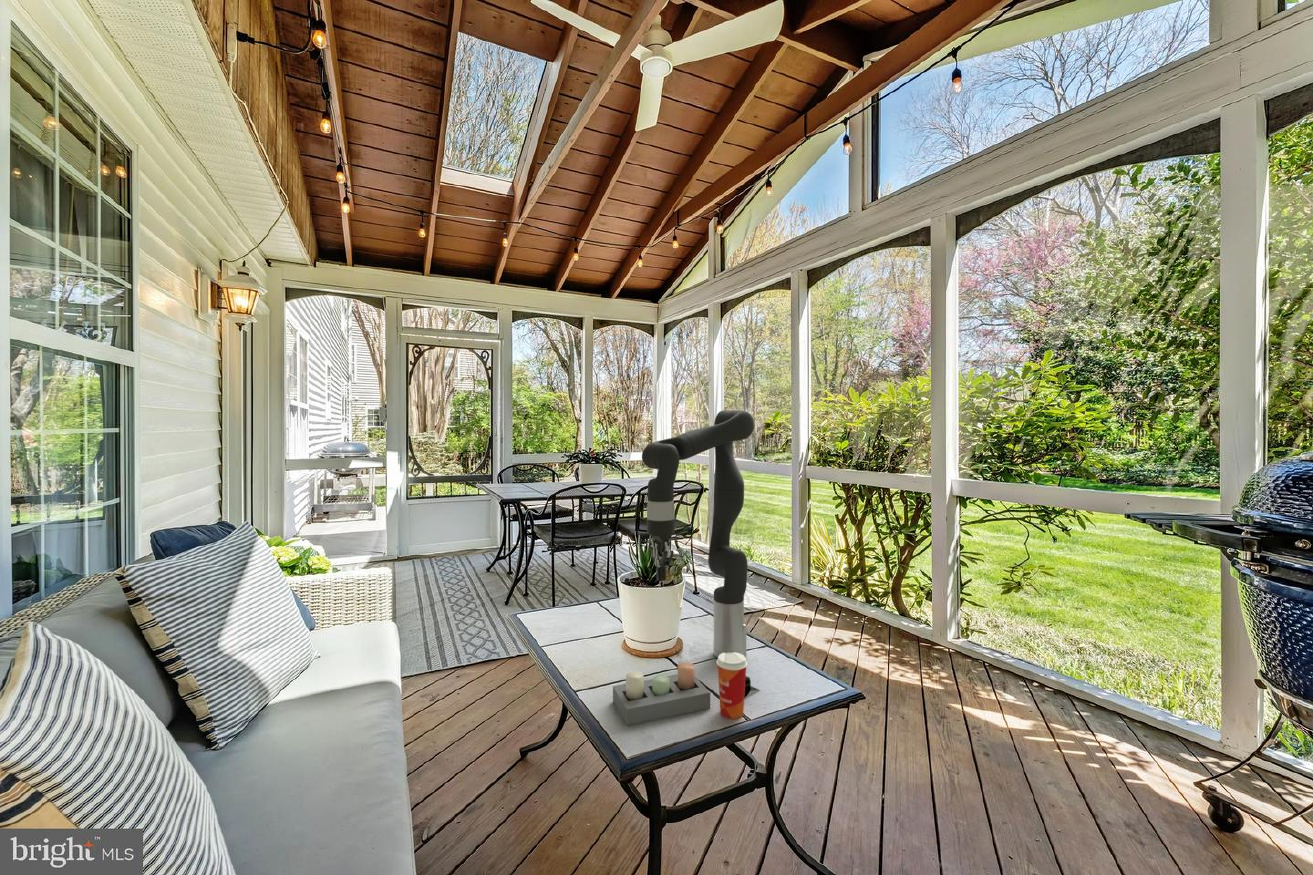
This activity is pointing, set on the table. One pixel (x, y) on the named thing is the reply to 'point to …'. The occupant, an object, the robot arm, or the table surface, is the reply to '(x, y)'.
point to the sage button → (660, 685)
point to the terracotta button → (686, 676)
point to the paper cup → (731, 683)
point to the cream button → (634, 685)
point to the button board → (660, 702)
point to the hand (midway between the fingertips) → (661, 579)
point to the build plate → (749, 688)
